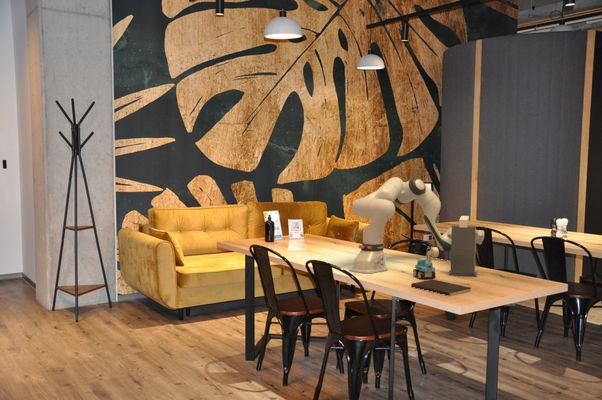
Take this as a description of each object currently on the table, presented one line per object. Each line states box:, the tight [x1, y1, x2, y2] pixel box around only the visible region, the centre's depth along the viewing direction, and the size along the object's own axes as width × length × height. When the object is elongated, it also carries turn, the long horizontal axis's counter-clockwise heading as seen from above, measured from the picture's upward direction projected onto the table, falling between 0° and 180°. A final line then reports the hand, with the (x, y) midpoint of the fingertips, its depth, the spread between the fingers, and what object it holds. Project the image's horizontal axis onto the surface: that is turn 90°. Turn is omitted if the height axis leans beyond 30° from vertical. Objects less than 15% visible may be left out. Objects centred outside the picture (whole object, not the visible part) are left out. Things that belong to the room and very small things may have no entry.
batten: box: [458, 215, 470, 228], centre depth 322 cm, size 20×4×4 cm, turn 162°
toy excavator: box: [412, 246, 440, 280], centre depth 310 cm, size 9×17×17 cm, turn 16°
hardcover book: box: [410, 279, 472, 297], centre depth 287 cm, size 16×23×2 cm
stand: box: [447, 224, 478, 278], centre depth 321 cm, size 10×14×26 cm
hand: (465, 229), depth 339 cm, fingers open, 8 cm apart
